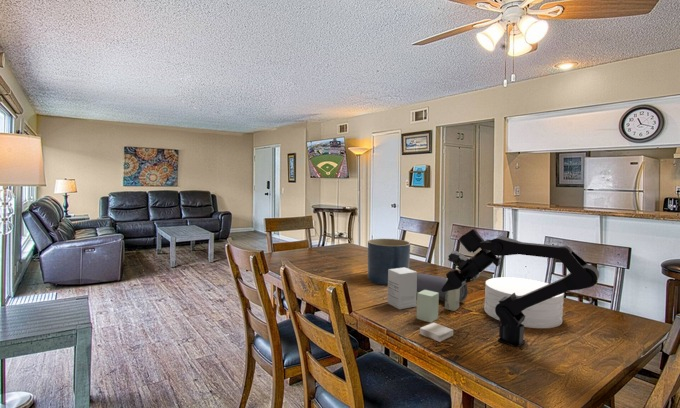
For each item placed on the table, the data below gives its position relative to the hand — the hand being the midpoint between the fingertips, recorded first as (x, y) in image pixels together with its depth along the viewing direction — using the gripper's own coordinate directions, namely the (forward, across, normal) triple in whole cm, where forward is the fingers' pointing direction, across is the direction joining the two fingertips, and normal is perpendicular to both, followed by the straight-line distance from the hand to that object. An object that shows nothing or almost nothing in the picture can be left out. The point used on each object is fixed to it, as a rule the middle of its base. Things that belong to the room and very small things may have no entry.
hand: (447, 288), depth 136 cm
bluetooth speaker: (+20, -26, -1) cm, 32 cm away
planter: (+43, -36, -25) cm, 62 cm away
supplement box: (+26, -7, -7) cm, 27 cm away
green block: (+15, 0, +4) cm, 15 cm away
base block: (+9, +12, +11) cm, 18 cm away
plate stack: (-3, -30, +23) cm, 38 cm away
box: (+13, -17, +6) cm, 22 cm away
